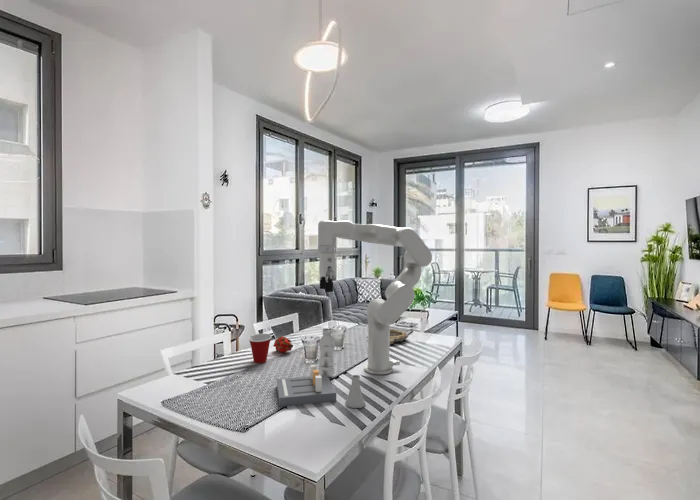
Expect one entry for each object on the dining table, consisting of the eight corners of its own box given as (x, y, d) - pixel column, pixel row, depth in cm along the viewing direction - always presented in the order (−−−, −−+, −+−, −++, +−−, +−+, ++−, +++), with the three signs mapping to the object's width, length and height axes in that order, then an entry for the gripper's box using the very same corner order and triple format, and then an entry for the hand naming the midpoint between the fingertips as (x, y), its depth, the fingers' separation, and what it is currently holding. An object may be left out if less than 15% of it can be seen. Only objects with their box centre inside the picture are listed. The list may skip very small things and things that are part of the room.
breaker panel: (326, 382, 151) (327, 362, 151) (336, 401, 134) (336, 378, 133) (276, 386, 146) (276, 365, 146) (279, 406, 129) (279, 383, 128)
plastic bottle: (318, 374, 160) (318, 327, 159) (334, 373, 161) (334, 327, 160) (318, 379, 154) (318, 331, 153) (334, 379, 154) (335, 331, 154)
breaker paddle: (317, 382, 142) (317, 369, 142) (318, 385, 140) (319, 371, 140) (312, 383, 142) (312, 370, 142) (313, 385, 139) (313, 372, 139)
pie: (368, 333, 232) (368, 325, 232) (412, 335, 230) (412, 327, 230) (365, 346, 205) (365, 337, 204) (415, 349, 202) (416, 339, 202)
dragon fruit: (276, 352, 196) (291, 360, 189) (266, 345, 190) (281, 353, 183) (284, 337, 199) (300, 345, 192) (275, 330, 193) (290, 338, 186)
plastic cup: (243, 363, 173) (243, 337, 172) (257, 356, 183) (257, 332, 182) (262, 366, 169) (262, 340, 168) (276, 359, 179) (276, 334, 178)
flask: (363, 410, 127) (364, 380, 127) (343, 407, 128) (343, 379, 128) (367, 401, 134) (367, 373, 134) (347, 399, 135) (347, 371, 135)
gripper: (341, 250, 151) (340, 292, 151) (330, 249, 167) (329, 287, 167) (322, 250, 148) (322, 293, 149) (313, 249, 165) (313, 287, 165)
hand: (326, 290), depth 158 cm, fingers open, 9 cm apart
